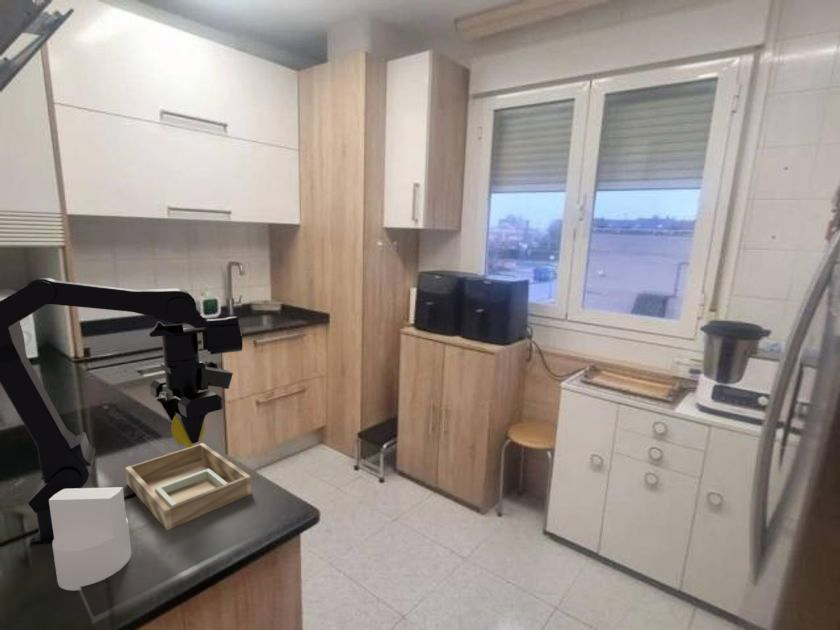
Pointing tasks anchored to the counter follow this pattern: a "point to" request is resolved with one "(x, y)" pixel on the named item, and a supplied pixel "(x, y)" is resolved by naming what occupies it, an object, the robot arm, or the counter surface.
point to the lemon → (182, 432)
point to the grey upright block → (89, 535)
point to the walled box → (190, 497)
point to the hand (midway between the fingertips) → (188, 438)
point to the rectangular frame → (185, 481)
